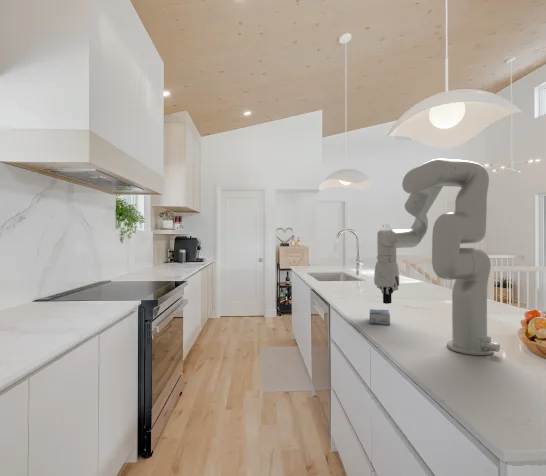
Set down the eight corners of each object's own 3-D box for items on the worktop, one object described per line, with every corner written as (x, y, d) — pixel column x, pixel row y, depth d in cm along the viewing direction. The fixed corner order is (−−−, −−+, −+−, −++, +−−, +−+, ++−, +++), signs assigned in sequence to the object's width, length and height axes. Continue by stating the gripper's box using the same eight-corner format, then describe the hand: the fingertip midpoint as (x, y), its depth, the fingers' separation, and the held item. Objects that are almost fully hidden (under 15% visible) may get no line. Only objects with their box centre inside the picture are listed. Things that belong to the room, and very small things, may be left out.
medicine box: (388, 309, 148) (390, 314, 140) (389, 320, 148) (390, 325, 140) (369, 309, 150) (369, 313, 142) (369, 319, 150) (369, 324, 142)
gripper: (367, 258, 152) (367, 301, 152) (394, 260, 139) (394, 307, 139) (380, 258, 156) (380, 299, 156) (407, 260, 142) (408, 305, 142)
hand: (387, 303), depth 147 cm, fingers closed
